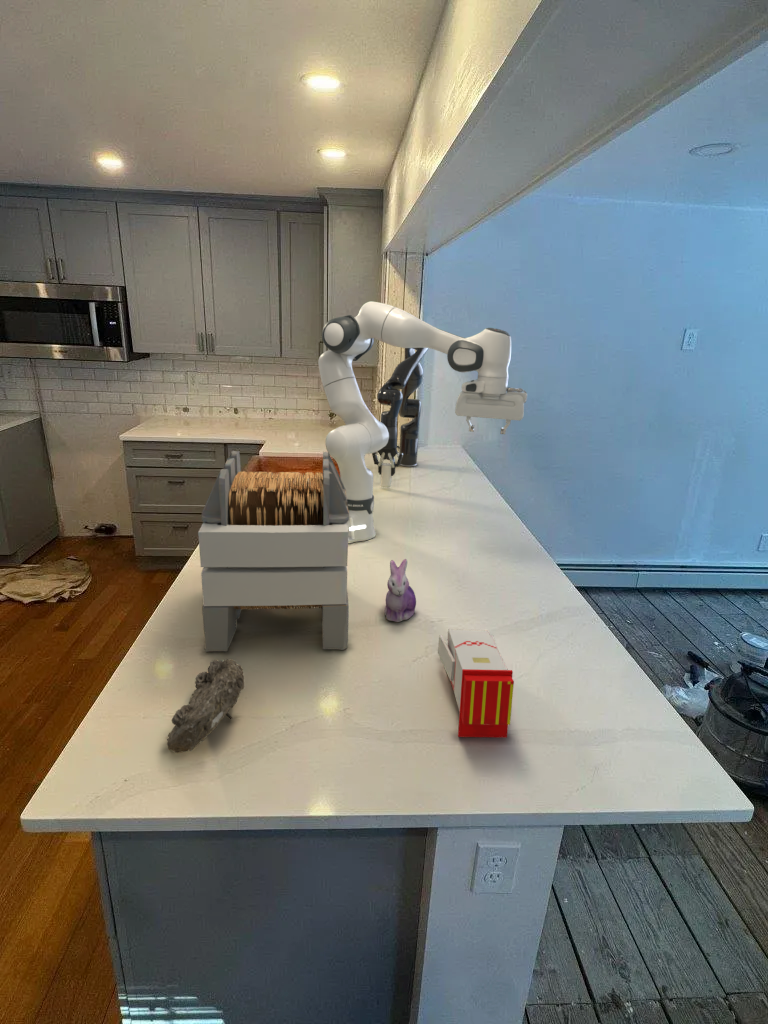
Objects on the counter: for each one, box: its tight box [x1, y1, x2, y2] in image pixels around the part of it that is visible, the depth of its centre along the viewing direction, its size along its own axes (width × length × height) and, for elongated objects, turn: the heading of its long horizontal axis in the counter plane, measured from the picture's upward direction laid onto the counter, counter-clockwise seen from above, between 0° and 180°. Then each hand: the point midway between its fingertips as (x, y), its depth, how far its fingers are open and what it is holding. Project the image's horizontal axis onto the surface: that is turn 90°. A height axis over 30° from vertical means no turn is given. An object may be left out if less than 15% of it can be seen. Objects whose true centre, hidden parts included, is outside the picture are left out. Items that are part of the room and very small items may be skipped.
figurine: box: [384, 558, 417, 623], centre depth 145 cm, size 9×10×15 cm
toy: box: [437, 628, 515, 738], centre depth 117 cm, size 12×13×30 cm
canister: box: [380, 462, 393, 489], centre depth 246 cm, size 5×5×10 cm
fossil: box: [166, 658, 245, 754], centre depth 106 cm, size 22×10×15 cm
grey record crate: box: [197, 450, 350, 653], centre depth 138 cm, size 34×33×41 cm
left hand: (486, 432), depth 171 cm, fingers open, 8 cm apart
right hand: (386, 474), depth 246 cm, fingers closed on canister, 4 cm apart
